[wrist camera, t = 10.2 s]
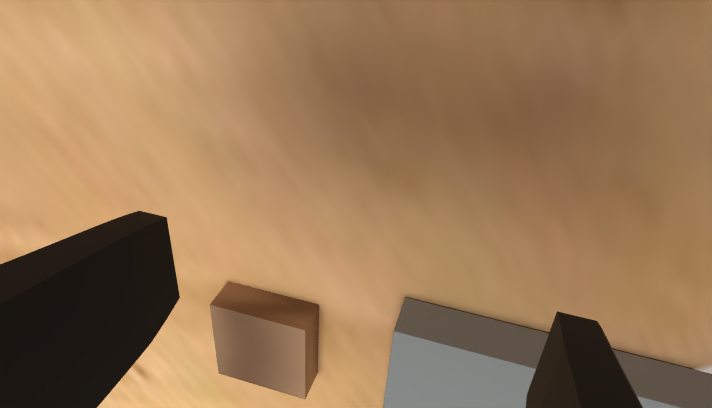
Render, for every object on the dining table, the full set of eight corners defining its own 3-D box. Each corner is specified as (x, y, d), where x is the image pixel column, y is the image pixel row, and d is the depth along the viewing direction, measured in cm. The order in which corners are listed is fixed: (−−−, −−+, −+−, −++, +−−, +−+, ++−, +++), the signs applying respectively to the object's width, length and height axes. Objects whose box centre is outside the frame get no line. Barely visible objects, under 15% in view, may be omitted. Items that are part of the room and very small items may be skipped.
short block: (321, 299, 23) (304, 330, 22) (320, 366, 26) (305, 399, 24) (231, 276, 24) (209, 304, 23) (238, 343, 27) (218, 373, 25)
